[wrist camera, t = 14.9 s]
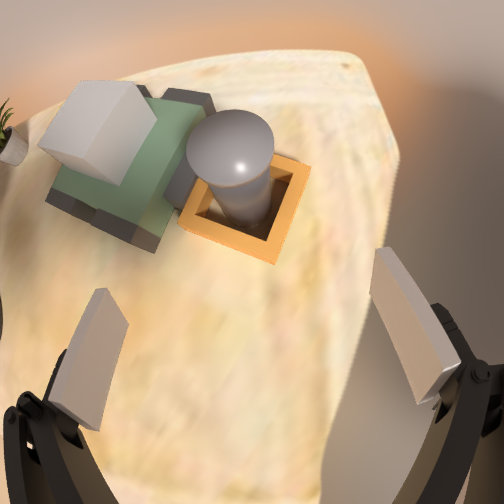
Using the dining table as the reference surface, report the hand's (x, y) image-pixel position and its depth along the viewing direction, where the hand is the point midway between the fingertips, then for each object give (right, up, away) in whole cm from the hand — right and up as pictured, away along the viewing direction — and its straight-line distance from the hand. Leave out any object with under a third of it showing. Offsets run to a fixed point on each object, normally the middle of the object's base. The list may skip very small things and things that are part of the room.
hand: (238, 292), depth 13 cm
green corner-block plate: (-8, +11, +20) cm, 24 cm away
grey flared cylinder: (0, +7, +19) cm, 20 cm away
